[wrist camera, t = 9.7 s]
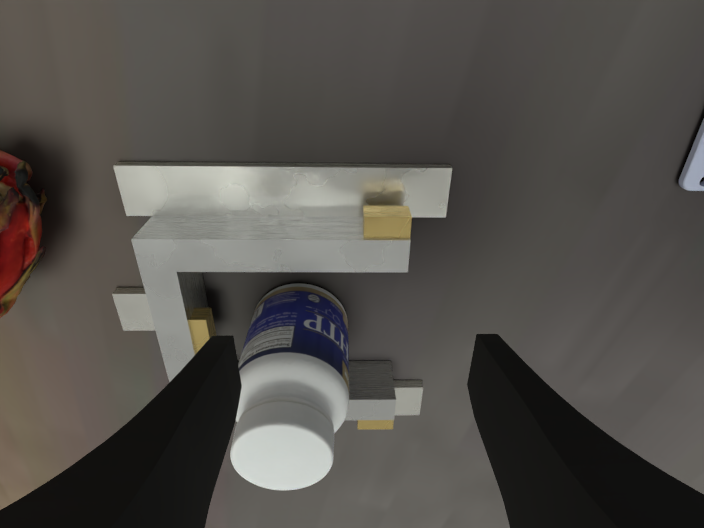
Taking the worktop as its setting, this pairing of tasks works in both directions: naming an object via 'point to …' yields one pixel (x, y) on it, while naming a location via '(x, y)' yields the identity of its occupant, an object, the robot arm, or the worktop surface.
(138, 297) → the socket
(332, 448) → the pill bottle
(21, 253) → the dragon fruit
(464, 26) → the worktop surface
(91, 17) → the worktop surface
